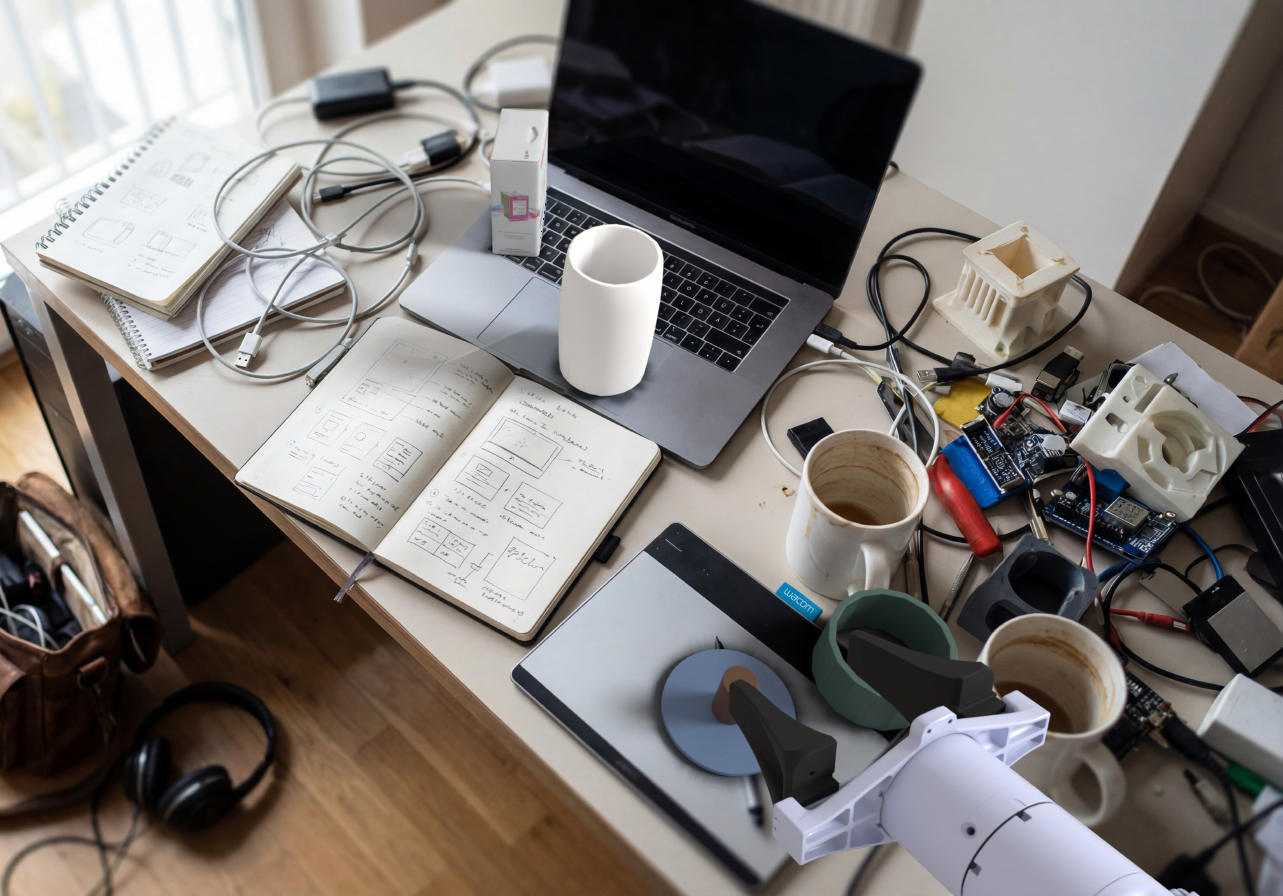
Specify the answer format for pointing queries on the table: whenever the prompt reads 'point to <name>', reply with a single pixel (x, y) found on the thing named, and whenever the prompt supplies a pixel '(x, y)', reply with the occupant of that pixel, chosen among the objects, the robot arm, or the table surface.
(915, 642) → the container
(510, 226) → the ink box
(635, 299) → the cup
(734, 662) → the lid
